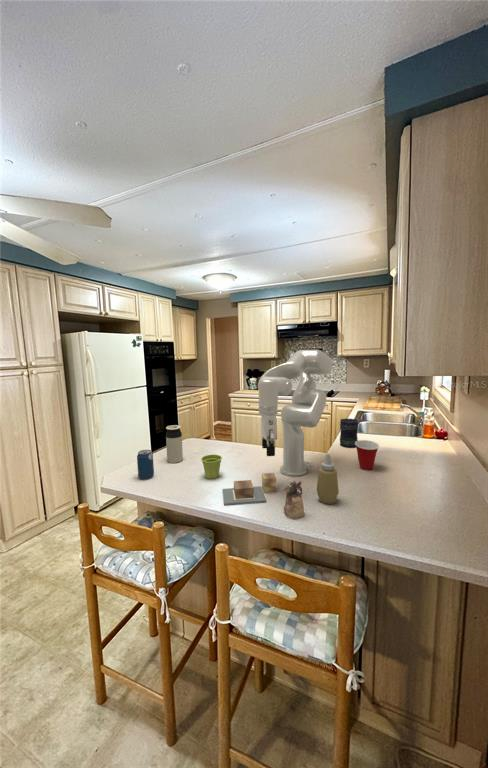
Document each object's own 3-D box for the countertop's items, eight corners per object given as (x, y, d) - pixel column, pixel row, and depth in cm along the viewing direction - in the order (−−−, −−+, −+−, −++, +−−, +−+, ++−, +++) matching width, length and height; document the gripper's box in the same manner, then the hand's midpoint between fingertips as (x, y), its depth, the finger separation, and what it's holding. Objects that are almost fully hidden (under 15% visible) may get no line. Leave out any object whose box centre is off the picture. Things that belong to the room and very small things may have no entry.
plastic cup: (359, 472, 141) (360, 447, 140) (350, 464, 152) (351, 440, 151) (383, 472, 142) (383, 446, 140) (372, 463, 152) (373, 439, 151)
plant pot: (219, 481, 135) (218, 462, 134) (198, 480, 137) (198, 461, 136) (224, 472, 144) (224, 455, 143) (205, 471, 146) (205, 453, 145)
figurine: (286, 506, 113) (286, 475, 112) (305, 510, 110) (305, 478, 109) (281, 516, 106) (281, 483, 105) (301, 520, 104) (302, 486, 102)
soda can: (157, 475, 142) (155, 450, 141) (145, 481, 136) (143, 455, 135) (147, 472, 146) (145, 448, 145) (135, 478, 140) (133, 452, 139)
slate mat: (261, 488, 128) (261, 485, 128) (266, 502, 116) (266, 500, 116) (222, 490, 126) (222, 488, 126) (224, 505, 114) (224, 503, 114)
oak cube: (273, 486, 129) (273, 473, 129) (276, 492, 124) (276, 478, 124) (262, 487, 129) (261, 473, 128) (264, 493, 124) (264, 478, 123)
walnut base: (251, 489, 125) (251, 479, 125) (253, 497, 118) (253, 487, 118) (233, 490, 124) (233, 481, 124) (235, 499, 117) (235, 489, 117)
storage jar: (345, 441, 187) (346, 417, 185) (360, 445, 180) (361, 420, 178) (336, 445, 181) (336, 420, 179) (351, 449, 173) (352, 423, 172)
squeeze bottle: (322, 493, 123) (322, 449, 120) (341, 499, 117) (342, 453, 115) (312, 501, 116) (313, 455, 114) (333, 508, 111) (333, 460, 109)
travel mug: (175, 464, 156) (173, 429, 154) (163, 461, 160) (162, 427, 158) (186, 459, 163) (184, 426, 160) (174, 456, 167) (173, 424, 165)
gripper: (282, 414, 114) (282, 458, 116) (273, 405, 131) (273, 445, 133) (262, 414, 113) (262, 459, 115) (255, 406, 131) (255, 445, 132)
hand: (268, 451), depth 124 cm, fingers open, 9 cm apart
